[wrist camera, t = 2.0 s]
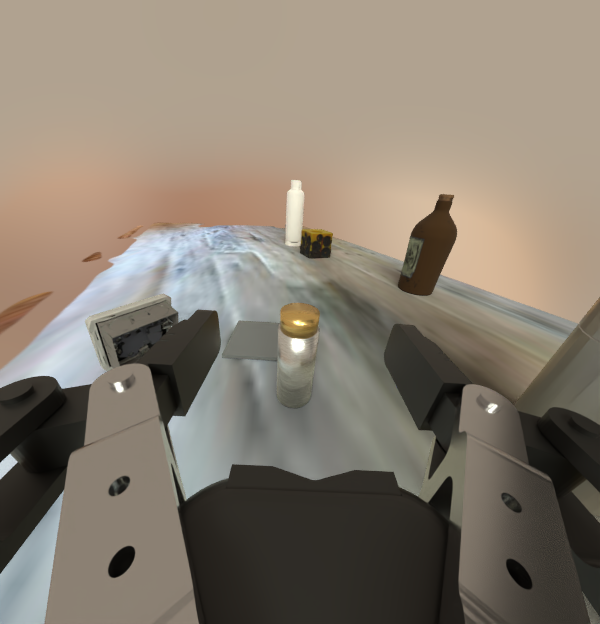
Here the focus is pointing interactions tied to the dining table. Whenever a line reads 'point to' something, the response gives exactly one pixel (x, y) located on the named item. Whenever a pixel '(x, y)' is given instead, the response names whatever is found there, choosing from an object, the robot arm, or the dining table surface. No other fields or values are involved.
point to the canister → (296, 353)
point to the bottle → (294, 214)
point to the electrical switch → (130, 330)
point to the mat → (253, 341)
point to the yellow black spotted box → (316, 243)
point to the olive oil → (428, 249)
